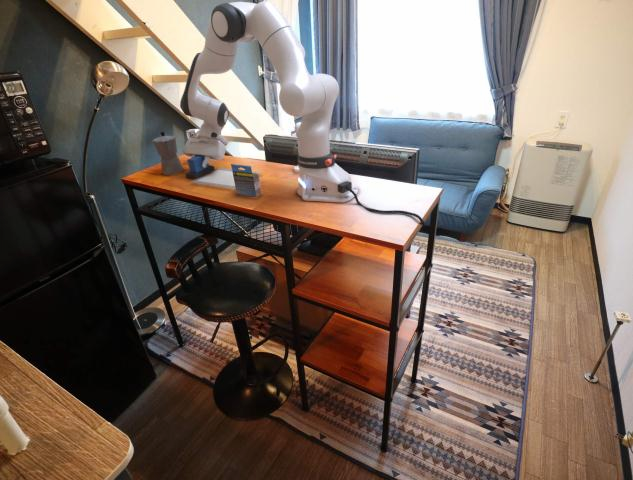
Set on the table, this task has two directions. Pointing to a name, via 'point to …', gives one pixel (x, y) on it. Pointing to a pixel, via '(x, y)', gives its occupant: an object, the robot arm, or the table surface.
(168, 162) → the coffeepot
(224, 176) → the whiteboard
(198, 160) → the eraser
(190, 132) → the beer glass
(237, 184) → the tape cartridge
